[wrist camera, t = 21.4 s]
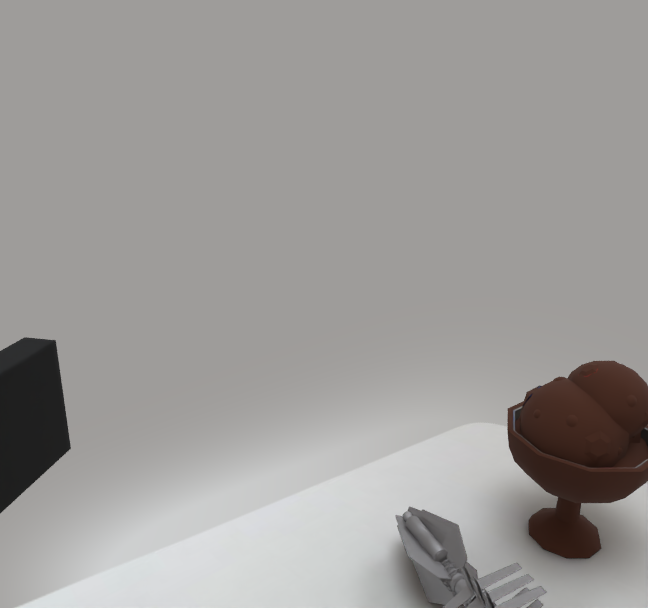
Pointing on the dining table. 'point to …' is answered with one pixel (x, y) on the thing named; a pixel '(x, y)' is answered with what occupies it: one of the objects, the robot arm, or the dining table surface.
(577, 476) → the ice cream bowl
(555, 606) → the dining table surface
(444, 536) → the spaceship
